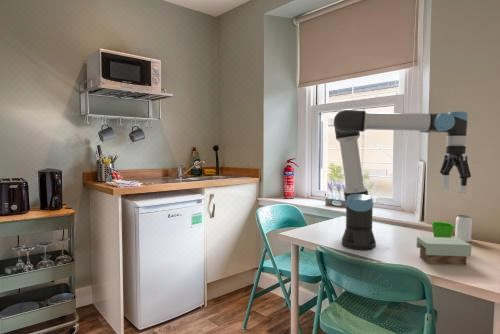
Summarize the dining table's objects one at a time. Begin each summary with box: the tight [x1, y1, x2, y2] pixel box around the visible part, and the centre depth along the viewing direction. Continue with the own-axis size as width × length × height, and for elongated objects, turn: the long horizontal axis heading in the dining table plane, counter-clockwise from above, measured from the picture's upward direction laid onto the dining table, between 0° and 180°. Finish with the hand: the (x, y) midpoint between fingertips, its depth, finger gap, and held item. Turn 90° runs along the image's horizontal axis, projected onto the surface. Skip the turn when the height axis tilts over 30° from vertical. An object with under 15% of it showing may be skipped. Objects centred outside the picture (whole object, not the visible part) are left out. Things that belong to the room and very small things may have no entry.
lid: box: [416, 236, 472, 257], centre depth 122 cm, size 16×9×4 cm, turn 83°
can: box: [454, 214, 473, 243], centre depth 151 cm, size 6×6×12 cm
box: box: [419, 244, 468, 266], centre depth 122 cm, size 14×7×7 cm, turn 83°
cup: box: [431, 221, 456, 238], centre depth 140 cm, size 9×9×11 cm
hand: (453, 190), depth 143 cm, fingers open, 13 cm apart
